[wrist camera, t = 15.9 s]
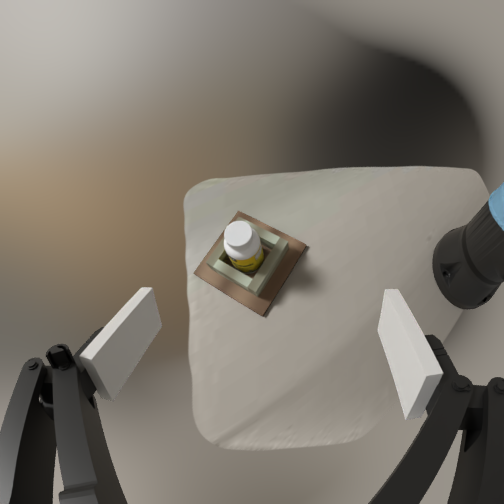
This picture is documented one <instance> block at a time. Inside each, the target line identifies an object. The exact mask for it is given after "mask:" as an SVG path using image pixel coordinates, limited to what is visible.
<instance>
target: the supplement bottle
mask: <svg viewBox="0 0 504 504" xmlns="http://www.w3.org/2000/svg"><path fill="white" fill-rule="evenodd" d="M224 238H225V239H224V248H225V251H226V253H227V255H228V256H229V258H230V260H231V262H232V264H233V265H234V267H235V268H236V269H237V270H238V271H239V272H241V273H245V274H250V273H254V272H256V271H257V270H259V269H260V267H261V266H262V264H263V262H264V253H263V249H262V245H261V241H260V238H259V235H258V233H257V232H256V231H255V230H254V229H253V228H251V226H250V225H249V224H248V223H246V222H244V221H235V222H232V223H230V224H229V225H228V226H227V227H226V229H225V232H224Z"/></svg>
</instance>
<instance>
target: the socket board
mask: <svg viewBox="0 0 504 504" xmlns="http://www.w3.org/2000/svg"><path fill="white" fill-rule="evenodd" d="M235 221H244V222H246V223H248V224H249V225H250V226H251V228H253V229H254V230H255V231H256V232H257V233H258V235H259V238H260V241H261V245H262V249H263V253H264V262H263V264H262V266H261V267H260V269H259V270H257V271H256V272H254V273H250V274H245V273H241V272H239V271H238V270H237V269H236V268H235V267H234V265H233V264H232V262H231V260H230V258H229V256H228V255H227V253H226V251H225V248H224V239H225V238H224V232H225V230H224V231H223V233H222V234H221V235H220V237H219V238H218V239H217V241H216V242H215V244H214V245H213V246H212V248H211V249H210V251H209V252H208V253H207V255H206V256H205V258H204V259H203V260H202V262H201V263H200V265H199V266H198V267H197V269H196V270H195V272H194V274H195V275H196V276H198V277H200V278H201V279H203V280H204V281H206V282H207V283H209V284H211V285H212V286H214V287H215V288H217V289H218V290H220V291H222V292H223V293H225V294H226V295H228V296H230V297H231V298H233V299H235V300H236V301H238V302H239V303H241V304H243V305H244V306H246V307H248V308H249V309H251V310H253V311H254V312H256V313H258V314H259V315H261V316H263V315H264V314H265V312H266V310H267V309H268V307H269V306H270V304H271V303H272V301H273V299H274V298H275V296H276V295H277V293H278V292H279V290H280V288H281V287H282V285H283V284H284V282H285V280H286V279H287V277H288V275H289V274H290V272H291V271H292V269H293V267H294V266H295V264H296V262H297V261H298V259H299V257H300V256H301V254H302V252H303V251H304V249H305V248H306V244H304V243H302V242H300V241H298V240H296V239H294V238H292V237H290V236H288V235H286V234H284V233H282V232H280V231H278V230H276V229H274V228H272V227H270V226H268V225H266V224H264V223H262V222H260V221H258V220H256V219H254V218H252V217H250V216H248V215H246V214H244V213H242V212H240V211H238V212H237V213H236V215H235V216H234V218H233V219H232V220H231V222H230V223H232V222H235ZM230 223H229V224H230ZM229 224H228V225H229ZM225 229H226V228H225Z"/></svg>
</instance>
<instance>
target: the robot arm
mask: <svg viewBox="0 0 504 504" xmlns="http://www.w3.org/2000/svg"><path fill="white" fill-rule="evenodd" d="M433 272H434V277H435V280H436V283H437V285H438V287H439V289H440V291H441V292H442V294H443V295H444V296H445V297H446V298H447V299H448V300H449V301H450V302H451V303H452V304H454V305H455V306H457V307H459V308H463V309H474V308H477V307H479V306H481V305H483V304H485V303H486V302H487V301H489V300H490V299H491V297H492V296H493V295H494V293H495V292H496V290H497V289H498V287H499V286H500V284H501V283H502V282H504V182H503V184H502V185H501V186H500V187H499V188H498V189H496V190H495V191H494V192H493V193H492V194H491V195H490V198H489V200H488V201H487V202H486V204H485V205H484V206H483V207H482V208H481V210H480V211H479V212H478V213H477V214H476V215H475V216H474V217H473V219H472V220H471V221H470V222H469V223H468V224H467V225H464V226H462V227H459V228H456V229H453V230H451V231H449V232H448V233H446V234H445V235H444V236H443V238H442V239H441V240H440V241H439V242H438V244H437V246H436V248H435V250H434V254H433ZM161 327H162V324H161V320H160V316H159V313H158V308H157V305H156V300H155V296H154V292H153V288H144V287H141V289H140V290H139V291H138V292H137V293H136V294H135V295H134V296H133V297H132V298H131V299H130V300H129V301H128V302H127V303H126V305H125V306H124V307H123V308H122V309H121V310H120V311H119V312H118V313H117V314H116V315H115V316H114V318H113V319H112V320H111V321H110V322H109V323H108V324H107V325H106V326H105V327H102V328H100V329H99V330H97V331H95V332H94V334H92V336H91V337H90V339H88V340H87V341H86V343H85V344H83V346H82V347H81V348H80V349H79V350H78V351H77V352H76V354H75V355H74V356H72V354H71V352H70V350H69V347H68V346H67V345H65V344H57V345H55V346H53V347H51V348H50V349H49V350H48V351H47V352H46V357H47V359H48V361H49V363H50V364H51V366H45V365H44V363H43V361H42V359H40V358H32V359H30V360H28V361H27V362H26V363H25V364H24V366H23V368H22V370H21V373H20V375H19V378H18V381H17V383H16V386H15V388H14V391H13V394H12V397H11V399H10V402H9V405H8V408H7V411H6V415H5V418H4V421H3V424H2V428H1V431H0V504H53V478H54V467H55V457H56V448H57V450H58V457H59V463H60V469H61V475H62V480H63V485H64V491H62V492H60V493H59V501H60V504H127V501H126V499H125V496H124V494H123V491H122V489H121V486H120V483H119V480H118V478H117V475H116V472H115V469H114V466H113V463H112V460H111V457H110V453H109V450H108V447H107V443H106V440H105V436H104V432H103V429H102V425H101V420H100V417H99V412H98V408H97V403H96V399H95V397H94V395H93V394H94V393H95V391H96V390H97V391H98V393H99V395H100V397H101V398H104V399H106V400H110V401H114V399H115V398H116V396H117V395H118V393H119V391H120V390H121V388H122V387H123V385H124V383H125V382H126V380H127V379H128V377H129V376H130V374H131V373H132V371H133V369H134V368H135V366H136V365H137V363H138V362H139V360H140V358H141V357H142V356H143V354H144V353H145V351H146V350H147V348H148V346H149V345H150V343H151V342H152V340H153V339H154V337H155V336H156V334H157V333H158V331H159V330H160V328H161ZM377 331H378V333H379V336H380V339H381V342H382V345H383V348H384V351H385V354H386V357H387V360H388V363H389V366H390V369H391V372H392V375H393V378H394V381H395V385H396V388H397V391H398V395H399V398H400V401H401V405H402V409H403V412H404V416H405V420H408V419H414V418H419V417H421V416H422V414H423V413H424V411H425V409H426V410H427V414H428V417H427V419H426V420H425V422H424V424H423V425H422V427H421V429H420V431H419V433H418V434H417V436H416V438H415V439H414V441H413V443H412V444H411V446H410V447H409V449H408V450H407V452H406V454H405V455H404V457H403V458H402V460H401V461H400V463H399V464H398V465H397V467H396V468H395V470H394V471H393V473H392V474H391V475H390V477H389V478H388V479H387V481H386V482H385V483H384V485H383V486H382V487H381V489H380V490H379V491H378V492H377V494H376V495H375V496H374V497H373V498H372V500H371V501H370V502H369V503H368V504H419V503H420V501H421V500H422V498H423V497H424V495H425V493H426V492H427V490H428V488H429V487H430V485H431V483H432V482H433V480H434V478H435V476H436V475H437V473H438V471H439V469H440V467H441V465H442V463H443V461H444V459H445V457H446V456H447V453H448V451H449V449H450V447H451V445H452V443H453V441H454V439H455V436H456V434H457V432H458V430H463V433H462V440H461V446H460V452H459V458H458V463H457V468H456V472H455V477H454V481H453V485H452V489H451V492H450V496H449V499H448V504H504V379H503V378H500V377H495V378H493V379H491V381H490V382H489V383H488V385H487V386H479V385H472V382H471V381H470V380H469V379H468V378H467V377H465V376H462V375H459V374H458V372H457V371H456V369H455V367H454V365H453V363H452V361H451V359H450V357H449V356H448V355H447V352H446V350H445V349H444V347H443V345H442V343H441V341H440V340H439V339H438V338H436V337H435V336H434V335H424V334H423V332H422V330H421V329H420V327H419V325H418V323H417V321H416V319H415V318H414V316H413V314H412V312H411V311H410V309H409V307H408V305H407V304H406V302H405V300H404V299H403V297H402V295H401V294H400V292H399V290H398V289H385V292H384V298H383V304H382V310H381V315H380V320H379V325H378V330H377ZM39 397H40V398H41V399H40V402H39Z"/></svg>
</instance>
